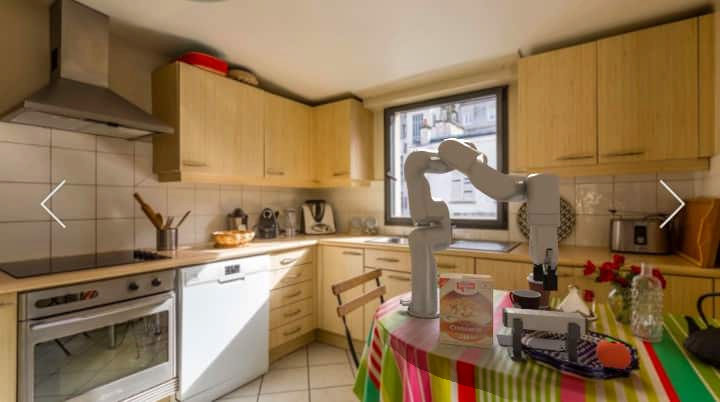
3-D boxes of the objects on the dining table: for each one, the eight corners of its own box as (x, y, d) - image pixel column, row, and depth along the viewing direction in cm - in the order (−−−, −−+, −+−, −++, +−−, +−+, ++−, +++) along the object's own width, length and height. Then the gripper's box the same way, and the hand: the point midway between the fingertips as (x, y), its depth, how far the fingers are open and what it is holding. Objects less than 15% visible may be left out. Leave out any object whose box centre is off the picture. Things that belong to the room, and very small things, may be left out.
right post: (567, 366, 82) (567, 325, 82) (559, 354, 88) (559, 316, 88) (584, 368, 81) (584, 326, 81) (574, 355, 88) (574, 317, 87)
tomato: (585, 360, 85) (585, 333, 85) (610, 359, 86) (610, 332, 86) (611, 377, 77) (611, 347, 77) (638, 375, 78) (639, 345, 78)
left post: (511, 360, 86) (511, 320, 85) (507, 348, 92) (507, 312, 92) (526, 361, 85) (526, 321, 85) (521, 350, 91) (521, 313, 91)
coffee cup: (530, 308, 125) (529, 277, 125) (524, 300, 134) (523, 271, 134) (556, 310, 123) (556, 278, 123) (548, 302, 132) (548, 272, 131)
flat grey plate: (499, 345, 94) (499, 344, 94) (496, 335, 101) (496, 334, 101) (579, 353, 89) (579, 352, 89) (570, 342, 95) (570, 341, 95)
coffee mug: (544, 328, 106) (544, 297, 106) (516, 326, 107) (515, 296, 107) (533, 315, 117) (533, 287, 117) (507, 314, 119) (507, 286, 119)
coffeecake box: (439, 343, 96) (438, 277, 95) (439, 333, 103) (439, 271, 102) (494, 349, 92) (493, 280, 91) (491, 338, 99) (490, 274, 98)
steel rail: (504, 327, 87) (504, 312, 87) (502, 321, 91) (502, 307, 91) (588, 334, 82) (588, 319, 82) (582, 328, 86) (582, 313, 86)
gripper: (520, 218, 95) (522, 277, 95) (535, 222, 79) (537, 293, 79) (549, 218, 93) (551, 278, 93) (571, 222, 77) (572, 295, 77)
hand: (544, 285), depth 86 cm, fingers open, 9 cm apart
